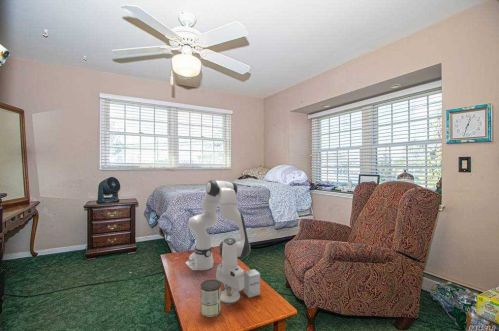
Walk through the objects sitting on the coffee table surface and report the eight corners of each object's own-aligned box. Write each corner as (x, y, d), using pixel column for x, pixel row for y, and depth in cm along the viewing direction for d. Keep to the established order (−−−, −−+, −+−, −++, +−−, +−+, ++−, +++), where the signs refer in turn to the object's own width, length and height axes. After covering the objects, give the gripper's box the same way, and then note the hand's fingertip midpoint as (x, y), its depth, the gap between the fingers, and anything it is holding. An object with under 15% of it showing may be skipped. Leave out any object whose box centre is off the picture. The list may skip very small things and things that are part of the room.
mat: (214, 298, 135) (214, 297, 135) (230, 290, 144) (230, 289, 144) (228, 306, 127) (228, 306, 127) (244, 297, 136) (244, 297, 136)
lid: (214, 297, 135) (214, 287, 135) (230, 289, 144) (230, 279, 144) (228, 305, 127) (228, 295, 127) (244, 296, 136) (244, 286, 136)
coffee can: (198, 308, 125) (198, 281, 125) (216, 303, 130) (216, 277, 130) (204, 320, 116) (204, 291, 116) (223, 314, 121) (224, 286, 121)
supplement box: (249, 298, 135) (249, 276, 135) (243, 292, 142) (243, 270, 142) (260, 295, 139) (260, 273, 139) (254, 289, 145) (254, 268, 145)
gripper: (213, 264, 140) (213, 287, 140) (238, 275, 126) (237, 301, 126) (221, 261, 145) (221, 284, 145) (246, 271, 131) (246, 297, 131)
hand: (229, 292), depth 136 cm, fingers closed on lid, 3 cm apart
